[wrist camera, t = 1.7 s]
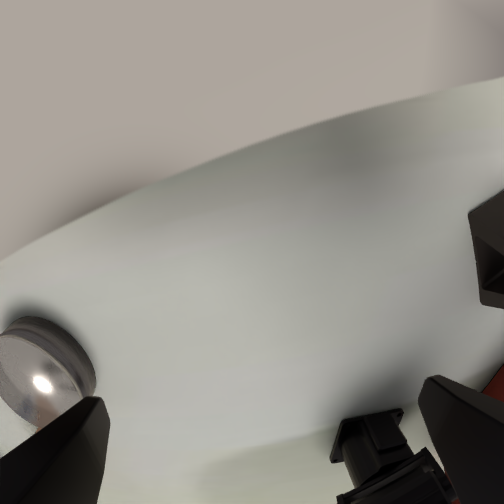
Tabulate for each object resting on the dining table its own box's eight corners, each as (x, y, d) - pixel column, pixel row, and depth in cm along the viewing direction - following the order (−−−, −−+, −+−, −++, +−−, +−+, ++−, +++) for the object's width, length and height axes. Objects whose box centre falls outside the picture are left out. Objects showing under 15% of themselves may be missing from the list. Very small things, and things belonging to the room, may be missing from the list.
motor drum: (106, 412, 22) (96, 440, 19) (25, 396, 22) (10, 419, 18) (81, 320, 20) (62, 345, 17) (-6, 311, 19) (-28, 330, 16)
